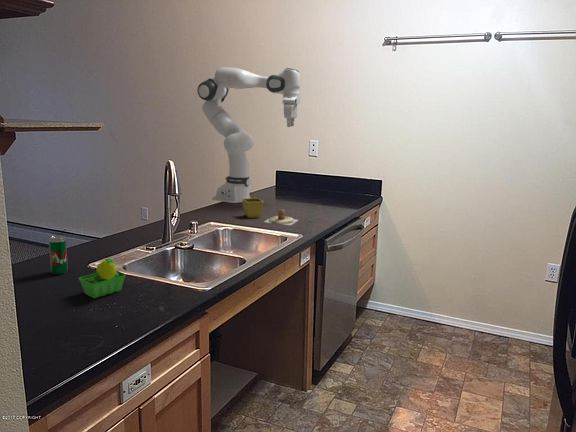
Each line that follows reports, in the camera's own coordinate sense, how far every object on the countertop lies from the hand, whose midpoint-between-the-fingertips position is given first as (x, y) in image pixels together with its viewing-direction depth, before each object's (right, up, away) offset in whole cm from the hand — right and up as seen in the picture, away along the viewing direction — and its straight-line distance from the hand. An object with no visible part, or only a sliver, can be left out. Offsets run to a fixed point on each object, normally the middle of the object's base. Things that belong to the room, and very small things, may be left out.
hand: (290, 126), depth 262 cm
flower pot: (-19, -49, -17) cm, 55 cm away
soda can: (-76, -67, -102) cm, 144 cm away
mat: (-5, -51, -23) cm, 56 cm away
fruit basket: (-56, -71, -117) cm, 148 cm away
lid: (-5, -50, -23) cm, 56 cm away
